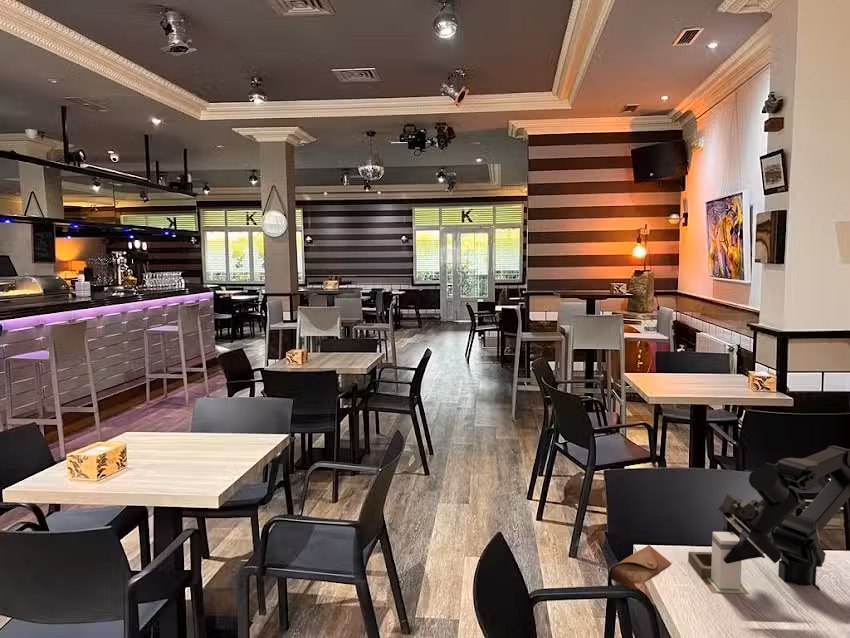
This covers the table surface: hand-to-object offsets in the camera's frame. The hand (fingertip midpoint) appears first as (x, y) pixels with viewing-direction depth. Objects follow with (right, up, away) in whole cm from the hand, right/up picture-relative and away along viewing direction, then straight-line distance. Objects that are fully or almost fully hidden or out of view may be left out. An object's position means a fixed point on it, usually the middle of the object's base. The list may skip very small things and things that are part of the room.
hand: (719, 556), depth 132 cm
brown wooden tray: (+2, -8, +5) cm, 9 cm away
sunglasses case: (-14, -8, +9) cm, 18 cm away
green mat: (+1, -8, +1) cm, 8 cm away
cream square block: (+1, -6, 0) cm, 7 cm away
